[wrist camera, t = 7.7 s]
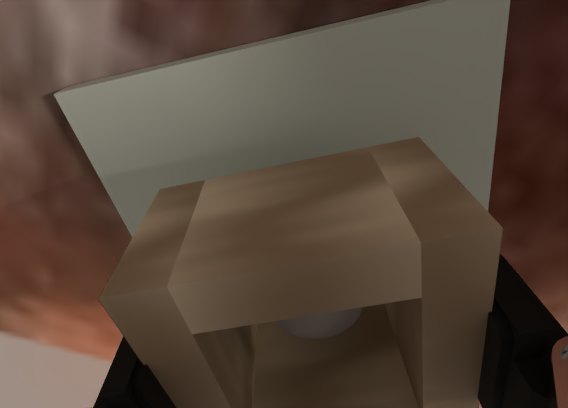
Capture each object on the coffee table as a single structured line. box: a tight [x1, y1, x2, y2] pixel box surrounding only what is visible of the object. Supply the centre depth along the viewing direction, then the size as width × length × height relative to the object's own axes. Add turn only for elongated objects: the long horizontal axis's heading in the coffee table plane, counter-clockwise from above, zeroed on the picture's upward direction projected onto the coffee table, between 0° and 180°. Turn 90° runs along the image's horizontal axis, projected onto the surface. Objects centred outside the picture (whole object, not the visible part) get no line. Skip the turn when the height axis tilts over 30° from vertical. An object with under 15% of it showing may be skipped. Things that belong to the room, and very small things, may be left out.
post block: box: [53, 0, 510, 339], centre depth 12 cm, size 14×12×6 cm
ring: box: [98, 137, 503, 408], centre depth 10 cm, size 7×7×4 cm
